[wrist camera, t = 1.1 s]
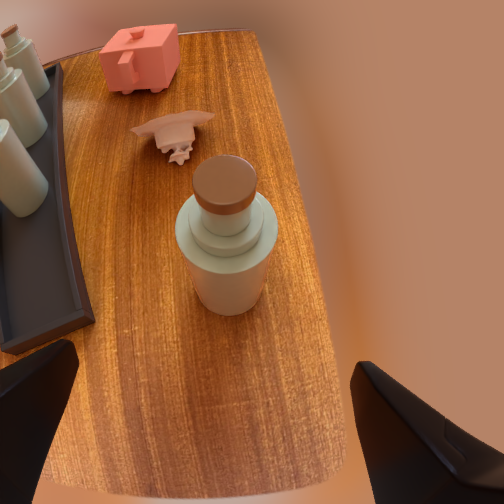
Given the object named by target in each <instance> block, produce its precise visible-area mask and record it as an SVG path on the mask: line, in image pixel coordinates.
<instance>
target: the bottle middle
mask: <svg viewBox="0 0 504 504" xmlns="http://www.w3.org/2000/svg"><path fill="white" fill-rule="evenodd" d="M0 119H6V120H7V121H8V122H9V123H10V125H11V127H12V128H13V130H14V131H15V133H16V135H17V136H18V138H19V139H20V141H21V142H22V144H23V146H24V147H25V148H27V147H30V146H31V145H33V144H34V143H36V142H37V141H38V140H39V139H40V138H41V137H42V136H43V134H44V133H45V131H46V129H47V126H48V123H47V121H46V119H45V117H44V115H43V113H42V111H41V109H40V107H39V105H38V103H37V101H36V99H35V97H34V95H33V93H32V91H31V89H30V87H29V85H28V83H27V80H26V78H25V76H24V74H23V72H22V70H21V69H15V70H14V69H13V67H8V68H7V66H6V64H5V62H4V60H3V55H2V53H1V52H0Z"/></svg>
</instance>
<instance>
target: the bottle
mask: <svg viewBox="0 0 504 504" xmlns="http://www.w3.org/2000/svg"><path fill="white" fill-rule="evenodd" d="M192 185H193V191H194V194H193V195H192V196H191V197H190V198H189V199H188V200H187V201H186V202H185V203H184V205H183V206H182V208H181V209H180V211H179V213H178V216H177V219H176V224H175V235H176V240H177V243H178V246H179V249H180V251H181V254H182V257H183V259H184V262H185V265H186V267H187V270H188V272H189V275H190V278H191V280H192V283H193V285H194V288H195V290H196V293H197V295H198V298H199V299H200V301H201V302H202V304H203V305H204V306H205V307H206V308H208V309H209V310H210V311H212V312H214V313H217V314H220V315H225V316H234V315H239V314H242V313H244V312H246V311H248V310H249V309H251V308H252V307H253V306H254V305H255V304H256V303H257V301H258V300H259V298H260V296H261V293H262V290H263V287H264V283H265V280H266V276H267V272H268V269H269V265H270V262H271V258H272V254H273V251H274V247H275V243H276V240H277V235H278V221H277V217H276V214H275V212H274V210H273V208H272V206H271V205H270V203H269V202H268V201H267V200H266V199H265V198H264V197H263V196H262V195H261V194H259V193H258V192H256V189H257V174H256V172H255V170H254V168H253V167H252V165H251V164H250V163H249V162H247V161H246V160H244V159H243V158H240V157H238V156H234V155H217V156H213V157H211V158H208V159H206V160H205V161H203V162H202V163H201V164H200V165H199V166H198V167H197V168H196V170H195V172H194V174H193V178H192Z"/></svg>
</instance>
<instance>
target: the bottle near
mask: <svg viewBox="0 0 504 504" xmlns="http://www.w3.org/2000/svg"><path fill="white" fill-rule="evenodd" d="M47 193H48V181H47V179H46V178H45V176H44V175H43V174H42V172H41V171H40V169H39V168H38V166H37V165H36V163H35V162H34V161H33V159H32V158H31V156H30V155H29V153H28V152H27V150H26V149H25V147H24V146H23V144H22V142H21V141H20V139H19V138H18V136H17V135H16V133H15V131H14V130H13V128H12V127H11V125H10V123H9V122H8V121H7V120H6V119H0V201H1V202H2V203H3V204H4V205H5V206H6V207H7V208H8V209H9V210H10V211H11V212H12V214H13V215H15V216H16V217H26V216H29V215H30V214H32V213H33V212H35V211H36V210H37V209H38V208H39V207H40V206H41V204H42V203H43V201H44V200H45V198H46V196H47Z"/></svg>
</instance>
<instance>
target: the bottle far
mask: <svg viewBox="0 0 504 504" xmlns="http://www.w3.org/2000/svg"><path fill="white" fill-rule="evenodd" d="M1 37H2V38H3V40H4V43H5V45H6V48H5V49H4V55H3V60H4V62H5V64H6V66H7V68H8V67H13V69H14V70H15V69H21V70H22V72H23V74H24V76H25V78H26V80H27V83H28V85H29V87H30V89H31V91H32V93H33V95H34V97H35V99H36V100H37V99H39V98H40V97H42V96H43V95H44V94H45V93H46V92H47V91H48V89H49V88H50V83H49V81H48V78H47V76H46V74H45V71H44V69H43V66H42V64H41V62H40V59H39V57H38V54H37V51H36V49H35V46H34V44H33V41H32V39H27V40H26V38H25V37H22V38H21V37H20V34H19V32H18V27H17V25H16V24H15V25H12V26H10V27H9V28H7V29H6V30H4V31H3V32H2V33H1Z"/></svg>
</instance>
